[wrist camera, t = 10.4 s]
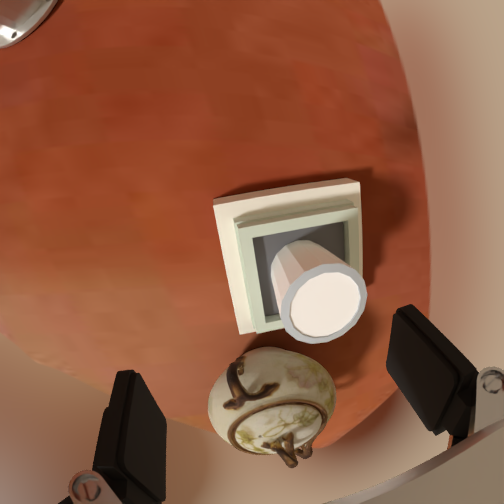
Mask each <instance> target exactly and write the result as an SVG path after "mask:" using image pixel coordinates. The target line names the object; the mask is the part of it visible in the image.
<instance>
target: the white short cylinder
mask: <svg viewBox="0 0 504 504" xmlns="http://www.w3.org/2000/svg"><path fill="white" fill-rule="evenodd" d="M271 279H272V283H273V287H274V292H275V296H276V300H277V305H278V309H279V314H280V318H281V320H282V323H283V325H284V328H285V330H286V332H288V333H289V334H290V335H291V336H293V337H294V338H295V339H296V340H298V341H302V342H306V343H310V344H315V343H323V342H329V341H331V340H333V339H335V338H338V337H340V336H342V335H343V334H345V333H346V332H347V331H348V330H349V329H350V328H352V327H353V326H354V325H355V324H356V322H357V321H358V319H359V318H360V316H361V314H362V313H363V311H364V308H365V304H366V299H367V291H366V286H365V281H364V280H363V278H362V277H361V276H360V275H359V273H358V272H357V271H356V270H355V269H354V268H352V267H351V266H350V265H348V264H347V263H345V262H344V261H342V260H341V259H339V258H338V257H337V256H335V255H334V254H332V253H331V252H329V251H328V250H326V249H325V248H323V247H322V246H320V245H319V244H316V243H314V242H312V241H309V240H297V241H294V242H292V243H290V244H287V245H285V246H284V247H283V248H282V249H281V250H280V251H279V252H278V253H277V254H276V256H275V258H274V260H273V262H272V264H271Z"/></svg>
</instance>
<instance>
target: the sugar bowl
mask: <svg viewBox="0 0 504 504" xmlns="http://www.w3.org/2000/svg"><path fill="white" fill-rule="evenodd" d="M335 404H336V389H335V385H334V383H333V380H332V378H331V376H330V374H329V373H328V372H327V370H326V369H325V368H324V367H323V366H322V365H321V364H319V363H318V362H317V361H315V360H313V359H312V358H310V357H307V356H305V355H302V354H300V353H296V352H292V351H288V350H284V349H281V348H277V347H261V348H257V349H254V350H251V351H248V352H247V353H245V354H243V355H242V356H241V357H239V358H237V359H236V361H235V362H233V363H231V364H230V366H229V367H228V368H227V369H226V370H225V371H224V372H223V373H222V374H221V375H220V376H219V378H218V379H217V381H216V382H215V384H214V386H213V388H212V390H211V392H210V396H209V400H208V413H209V418H210V420H211V423H212V425H213V427H214V429H215V430H216V432H217V433H218V434H219V435H220V436H221V437H222V438H223V439H224V440H225V441H226V442H228V443H229V444H231V445H232V446H234V447H235V448H236V449H238V450H240V451H243V452H245V453H249V454H255V455H271V454H279V455H280V457H281V458H282V459H283V460H284V462H285V463H286V465H287V466H288V467H290V468H294V467H296V466H297V465H298V461H297V458H296V456H295V455H298V456H300V457H301V458H303V459H307V458H309V457H310V456H311V455H312V452H313V451H312V447H311V446H312V443H313V441H314V440H315V438H316V437H317V436H318V435H319V434H320V433H321V432H322V430H323V429H324V427H325V426H326V424H327V422H328V421H329V419H330V418H331V416H332V414H333V412H334V408H335ZM299 447H301V448H302V450H301V449H299Z"/></svg>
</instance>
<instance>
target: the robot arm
mask: <svg viewBox="0 0 504 504" xmlns="http://www.w3.org/2000/svg"><path fill="white" fill-rule="evenodd" d="M57 1H58V0H0V48H6V47H9V46H12V45H14V44H16V43H17V42H19V41H21V40H22V39H24V38H25V37H27V36H28V35H29V34H30V33H31V32H32V31H34V30H35V29H36V28H37V27H38V26H39V25H40V24H41V23H42V22H43V21H44V19H45V18H46V17H47V16H48V14H49V13H50V12H51V10H52V9H53V7H54V6H55V4H56V3H57ZM386 368H387V371H388V373H389V374H390V375H391V377H392V378H393V380H394V381H395V383H396V384H397V386H398V387H399V388H400V390H401V391H402V393H403V394H404V396H405V397H406V399H407V400H408V402H409V403H410V404H411V406H412V407H413V409H414V410H415V412H416V413H417V415H418V416H419V418H420V419H421V421H422V422H423V424H424V425H425V427H426V428H427V429H428V430H429V431H433V433H434V434H435V435H438V434H440V433H442V432H444V431H445V430H447V431H448V433H449V434H450V436H449V442H448V447H447V450H446V451H444V452H442V453H441V454H439V455H437V456H435V457H434V458H432V459H430V460H428V461H426V462H424V463H422V464H420V465H418V466H416V467H414V468H412V469H410V470H408V471H406V472H404V473H402V474H400V475H398V476H396V477H393V478H391V479H389V480H387V481H384V482H382V483H380V484H377V485H375V486H372V487H370V488H367V489H365V490H362V491H359V492H357V493H354V494H351V495H348V496H346V497H343V498H340V499H337V500H334V501H330V502H327V503H324V504H504V370H502V369H500V368H497V367H487V368H484V369H483V370H482V371H480V373H479V372H478V371H477V370H476V368H475V367H474V366H473V364H472V363H471V362H470V361H469V360H468V359H467V358H466V357H465V356H464V355H463V354H462V353H461V352H460V351H459V350H458V349H457V348H456V347H455V346H454V345H453V344H452V343H451V342H450V341H449V340H448V339H447V338H446V337H445V336H444V335H443V334H442V333H441V332H440V331H439V330H438V329H437V328H436V327H435V326H434V325H433V324H432V323H431V322H430V321H429V320H428V319H427V318H426V317H425V316H424V315H423V314H422V313H421V312H420V311H419V310H418V309H417V308H416V307H415V306H413V305H412V304H409V305H406V306H404V307H401V308H398V309H397V310H396V313H395V314H394V315H393V320H392V328H391V335H390V342H389V349H388V355H387V361H386ZM166 433H167V424H166V419H165V417H164V415H163V413H162V412H161V410H160V408H159V407H158V405H157V403H156V401H155V400H154V398H153V396H152V394H151V393H150V391H149V389H148V387H147V386H146V384H145V382H144V380H143V378H142V376H141V375H140V373H135V371H134V370H125V371H118V372H117V374H116V378H115V382H114V386H113V390H112V394H111V398H110V402H109V407H107V408H106V409H105V411H104V413H103V418H102V422H101V427H100V431H99V436H98V441H97V446H96V451H95V456H94V462H93V468H92V471H91V470H84V471H80V472H78V473H77V474H75V475H74V476H73V477H72V479H71V480H70V482H69V486H68V492H69V496H68V497H67V498H65V499H64V500H63V501H61V502H60V503H58V504H162V502H163V501H165V499H166Z"/></svg>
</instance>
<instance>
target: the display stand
mask: <svg viewBox="0 0 504 504" xmlns="http://www.w3.org/2000/svg"><path fill="white" fill-rule="evenodd" d="M213 207H214V212H215V217H216V222H217V228H218V233H219V238H220V243H221V248H222V253H223V258H224V263H225V268H226V273H227V277H228V282H229V287H230V292H231V296H232V301H233V306H234V311H235V315H236V320H237V324H238V329H239V334H245V333H251V332H257V334H258V333H263V332H267V331H272V330H277V329H281V328H284V325H283V323H282V320H281V318H280V314H279V309H278V305H277V300H276V296H275V292H274V287H273V283H272V279H271V264H272V262H273V260H274V258H275V256H276V254H277V253H278V252H279V251H280V250H281V249H282V248H283V247H284V246H285V245H287V244H290V243H292V242H294V241H297V240H309V241H312V242H314V243H316V244H319V245H320V246H322V247H323V248H325V249H326V250H328V251H329V252H331V253H332V254H334V255H335V256H337V257H338V258H339V259H341V260H342V261H344V262H345V263H347V264H348V265H350V266H351V267H352V268H354V269H355V270H356V271H357V272H358V273H359V275H360V276H361V277H362V278H363V250H362V214H361V194H360V182H358V181H355V180H352V179H349V178H342V179H334V180H327V181H319V182H312V183H305V184H299V185H292V186H286V187H279V188H273V189H267V190H261V191H255V192H249V193H244V194H238V195H232V196H227V197H222V198H216V199H213Z"/></svg>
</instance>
